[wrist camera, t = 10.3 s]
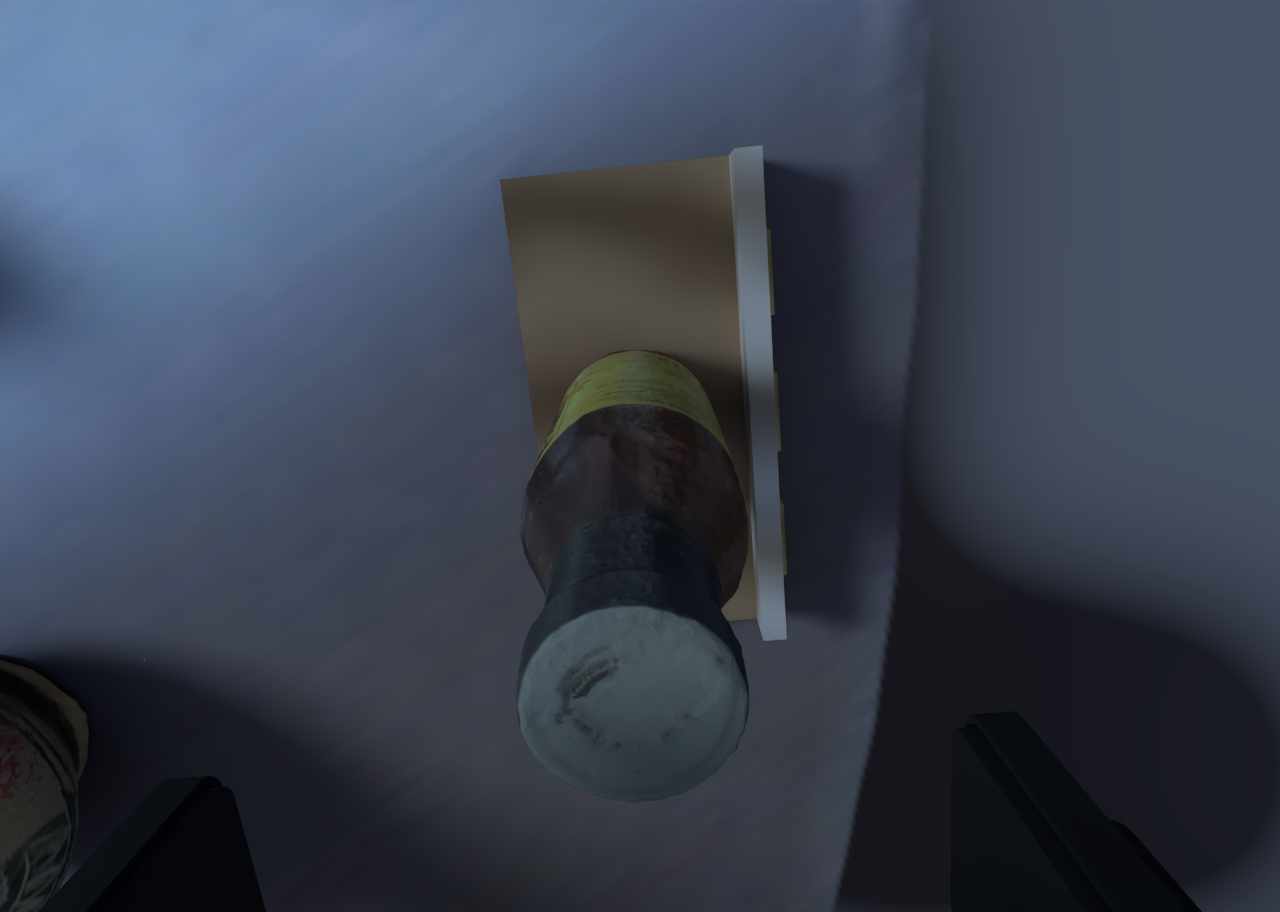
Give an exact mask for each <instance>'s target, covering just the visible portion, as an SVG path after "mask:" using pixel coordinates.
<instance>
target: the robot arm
mask: <svg viewBox="0 0 1280 912" xmlns="http://www.w3.org/2000/svg"><path fill="white" fill-rule="evenodd" d="M951 789H952V790H951V908H952V912H1201V911H1200V909H1199V908H1198V907H1197V906H1196V905H1195V903H1194V902H1193V901H1192V900H1191V899H1190V898H1189V897H1188V895H1187V894H1186V893H1185V892H1184V891H1183V890H1182V888H1181V887H1180V886H1179V885H1178V884H1177V883H1176V882H1175V880H1174V879H1173V878H1172V877H1171V876H1170V875H1169V873H1168V872H1167V871H1166V870H1165V869H1164V868H1163V867H1162V865H1161V864H1160V863H1159V862H1158V861H1157V860H1156V858H1154V856H1153V855H1152V854H1151V853H1150V852H1149V850H1148V849H1147V848H1146V847H1145V846H1144V845H1143V843H1142V842H1141V841H1140V840H1139V839H1138V838H1137V837H1136V835H1134V834H1133V833H1132V832H1131V831H1130V830H1129V829H1128V828H1127V827H1126V826H1125V825H1123V824H1121V823H1119V822H1117V821H1114V820H1109V819H1108V818H1107V817H1106V816H1105V815H1104V813H1103V812H1102V811H1101V810H1100V809H1099V807H1098V806H1097V805H1096V804H1095V803H1094V801H1093V800H1092V799H1091V798H1090V797H1089V795H1088V794H1087V793H1086V792H1085V791H1084V790H1083V788H1082V787H1081V786H1080V785H1079V784H1078V782H1077V781H1076V780H1075V779H1074V778H1073V777H1072V775H1071V774H1070V773H1069V772H1068V770H1067V769H1066V768H1065V767H1064V766H1063V765H1062V764H1061V762H1060V761H1059V760H1058V759H1057V757H1056V756H1055V755H1054V754H1053V753H1052V752H1051V750H1050V749H1049V748H1048V747H1047V746H1046V744H1045V743H1044V742H1043V741H1042V740H1041V738H1040V737H1039V736H1038V735H1037V734H1036V733H1035V731H1034V730H1033V729H1032V728H1031V727H1030V726H1029V724H1028V723H1027V722H1026V721H1025V720H1024V719H1023V717H1022V716H1021V715H1019V714H1018V713H1017V712H1013V711H1012V712H1000V713H986V714H974V715H969V716H968V717H967V718H966V721H965V727H964V728H956V729H954V731H953V734H952V788H951ZM39 912H266V910H265V907H264V903H263V899H262V896H261V892H260V888H259V885H258V881H257V877H256V874H255V870H254V866H253V863H252V859H251V856H250V852H249V848H248V845H247V841H246V837H245V834H244V830H243V826H242V823H241V819H240V815H239V812H238V808H237V805H236V801H235V797H234V795H233V792H232V791H231V790H230V789H229V788H228V787H223V786H222V784H221V782H220V781H219V780H218V779H217V778H216V777H212V776H204V777H192V778H179V779H170V780H166V781H163V782H162V783H161V784H160V785H158V786H157V787H156V788H155V789H154V790H153V791H152V792H151V793H150V794H149V796H148V797H147V798H146V799H145V800H144V801H143V802H142V803H141V804H140V805H139V806H138V807H137V808H136V809H135V810H134V811H133V812H132V814H131V815H130V816H129V817H128V818H127V819H126V820H125V821H124V822H123V823H122V824H121V825H120V826H119V827H118V828H117V829H116V830H115V831H114V833H113V834H112V835H111V836H110V837H109V838H108V839H107V840H106V841H105V842H104V843H103V844H102V845H101V846H100V847H99V848H98V849H97V850H96V852H95V853H94V854H93V855H92V856H91V857H90V858H89V859H88V860H87V861H86V862H85V863H84V864H83V865H82V866H81V867H80V868H79V869H78V871H77V872H76V873H75V874H74V875H73V876H72V877H71V878H70V879H69V880H68V881H67V882H66V883H65V884H64V885H63V886H62V887H61V889H60V890H59V891H58V892H57V893H56V894H55V895H54V896H53V897H52V898H51V899H50V900H49V901H48V902H47V903H46V904H45V905H44V906H43V908H42V909H41V910H40V911H39Z"/></svg>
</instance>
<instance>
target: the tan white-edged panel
mask: <svg viewBox="0 0 1280 912" xmlns="http://www.w3.org/2000/svg"><path fill="white" fill-rule="evenodd" d="M500 183H501V190H502V197H503V204H504V212H505V219H506V226H507V233H508V240H509V247H510V254H511V261H512V268H513V276H514V283H515V290H516V297H517V304H518V311H519V318H520V325H521V333H522V340H523V347H524V354H525V361H526V368H527V375H528V382H529V390H530V397H531V404H532V411H533V418H534V425H535V432H536V439H537V447H538V454H539V455H540V453H541V450H542V448H543V446H544V443H545V441H546V438H547V436H548V434H549V432H550V430H551V427H552V425H553V422H554V420H555V417H556V416H557V413H558V411H559V409H560V406H561V404H562V402H563V399H564V396H565V394H566V392H567V390H568V388H569V387H570V385H571V384H572V383H573V381H574V380H575V379H576V378H577V377H578V376H579V375H580V373H582V372H583V371H584V370H585V369H586V368H587V367H588V366H590V365H591V364H593V363H594V362H595V361H596V360H597V359H599V358H602V357H603V356H605V355H607V354H608V353H611V352H616V351H621V350H634V349H637V350H649V351H659V352H661V353H663V354H666V355H668V356H670V357H671V358H672V359H674V360H675V361H677V362H679V363H680V364H682V365H683V366H684V367H685V368H686V369H687V370H689V371H690V372H691V373H692V374H693V376H694V377H695V378H696V379H697V380H698V381H699V383H700V384H701V386H702V387H703V389H704V391H705V393H706V395H707V397H708V399H709V401H710V404H711V406H712V408H713V411H714V413H715V416H716V418H717V421H718V424H719V426H720V429H721V432H722V434H723V437H724V439H725V442H726V444H727V447H728V449H729V452H730V455H731V457H732V460H733V463H734V468H735V470H736V473H737V476H738V479H739V484H740V489H741V493H742V495H743V496H744V500H745V508H746V511H747V515H748V521H749V542H748V554H747V558H746V562H745V565H744V569H743V572H742V577H741V580H740V583H739V588H738V590H737V591H736V592H735V594H734V595H733V597H732V598H731V599H730V600H729V601H728V602H727V603H726V604H725V605H724V607H723V608H722V609H721V610H722V613H723V615H724V616H725V618H726V619H727V621H734V620H746V619H757V620H758V623H759V627H760V630H761V634H762V637H763V641H768V640H781V639H787V637H786V616H785V596H784V576H783V575H787V562H786V541H785V521H784V504H783V502H782V500H781V498H780V494H779V474H778V454H777V451H781V437H780V416H779V395H778V374H777V373H776V372H775V371H774V370H773V352H772V332H771V315H775V311H774V290H773V269H772V248H771V229H766V210H765V189H764V169H763V149H762V145H761V146H752V147H743V148H735V149H734V150H733V151H732V152H731V153H730V155H728V156H718V157H709V158H700V159H690V160H681V161H671V162H662V163H653V164H643V165H634V166H625V167H615V168H606V169H596V170H587V171H578V172H568V173H559V174H549V175H540V176H531V177H521V178H512V179H503V180H500Z"/></svg>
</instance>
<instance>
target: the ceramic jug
mask: <svg viewBox="0 0 1280 912" xmlns="http://www.w3.org/2000/svg"><path fill="white" fill-rule="evenodd" d="M143 660H144V661H145V658H144V659H143ZM145 662H146V661H145ZM88 741H89V730H88V722H87V714H86V713H85V712H84V710H83V709H82V707H81V706H80V705H79V703H78V702H77V701H75V700H74V699H72V698H71V697H70V696H68V695H67V694H65V693H64V692H62V691H61V690H60V689H59V688H57V687H56V686H55V685H54V684H53V683H51V682H50V681H49V680H48V679H47V678H45V677H44V676H42V675H40V674H38V673H37V672H35V671H33V670H32V669H30V668H27V667H23V666H20V665H17V664H14V663H10V662H7V661H4V660H1V659H0V912H39V911H40V910H41V909H42V908H43V906H44V905H45V904H46V903H47V902H48V901H49V900H50V899H51V898H52V897H53V896H54V895H55V894H56V893H57V892H58V891H59V889H60V886H61V884H62V882H63V880H64V878H65V876H66V873H67V870H68V867H69V864H70V861H71V858H72V855H73V849H74V844H75V838H76V833H77V827H78V821H79V805H78V781H79V778H80V776H81V774H82V772H83V770H84V767H85V764H86V762H87V756H88Z"/></svg>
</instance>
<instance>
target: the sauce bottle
mask: <svg viewBox="0 0 1280 912" xmlns="http://www.w3.org/2000/svg"><path fill="white" fill-rule="evenodd" d="M521 538H522V543H523V548H524V553H525V556H526V558H527V560H528V563H529V565H530V567H531V569H532V571H533V572H534V574H535V576H536V578H537V580H538V581H539V583H540V585H541V587H542V589H543V591H544V593H545V595H546V603H545V606H544V609H543V610H542V612H541V614H540V615H539V617H538V619H537V620H536V621H535V622H534V623H533V624H532V626H531V628H530V630H529V632H528V635H527V637H526V639H525V642H524V645H523V649H522V652H521V660H520V667H519V673H518V680H517V712H518V719H519V726H520V730H521V732H522V734H523V736H524V738H525V740H526V743H527V746H528V747H529V749H530V750H531V751H532V753H533V754H534V755H535V757H536V758H537V759H538V760H539V762H540V763H541V764H542V765H543V766H544V767H546V768H547V769H548V770H550V771H551V772H552V773H553V774H555V775H556V776H557V777H559V778H560V779H562V780H563V781H565V782H566V783H568V784H569V785H571V786H572V787H574V788H576V789H579V790H582V791H585V792H588V793H591V794H594V795H597V796H600V797H604V798H608V799H614V800H620V801H626V802H642V801H649V800H661V799H664V798H667V797H670V796H674V795H678V794H680V793H683V792H685V791H687V790H690V789H692V788H694V787H695V786H697V785H699V784H700V783H702V782H703V781H704V780H706V779H707V778H708V777H709V776H711V775H712V774H714V773H715V772H717V771H718V769H719V768H720V767H721V766H722V765H723V763H724V762H725V760H726V759H727V758H728V757H729V756H730V755H731V754H732V753H733V752H734V751H735V750H736V749H737V746H738V742H739V740H740V738H741V736H742V734H743V733H744V729H745V725H746V721H747V717H748V711H749V687H748V681H747V675H746V669H745V664H744V660H743V656H742V648H741V645H740V643H739V642H738V640H737V638H736V637H735V635H734V633H733V631H732V629H731V626H730V624H729V623H728V621H727V619H726V618H725V616H724V615H723V613H722V610H721V609H722V608H723V607H724V605H725V604H726V603H727V602H728V601H729V600H730V599H731V598H732V597H733V595H734V594H735V592H736V591H737V590H738V588H739V583H740V580H741V577H742V572H743V569H744V565H745V562H746V558H747V554H748V542H749V521H748V515H747V511H746V508H745V500H744V496H743V495H742V493H741V489H740V484H739V479H738V476H737V473H736V470H735V468H734V463H733V460H732V457H731V455H730V452H729V449H728V447H727V444H726V442H725V439H724V437H723V434H722V432H721V429H720V426H719V424H718V421H717V418H716V416H715V413H714V411H713V408H712V406H711V404H710V401H709V399H708V397H707V395H706V393H705V391H704V389H703V387H702V386H701V384H700V383H699V381H698V380H697V379H696V378H695V377H694V376H693V374H692V373H691V372H690V371H689V370H687V369H686V368H685V367H684V366H683V365H682V364H680V363H679V362H677V361H675V360H674V359H672V358H671V357H670V356H668V355H666V354H663V353H661V352H659V351H649V350H637V349H634V350H621V351H616V352H611V353H608V354H607V355H605V356H603V357H602V358H599V359H597V360H596V361H595V362H594V363H593V364H591V365H590V366H588V367H587V368H586V369H585V370H584V371H583V372H582V373H580V375H579V376H578V377H577V378H576V379H575V380H574V381H573V383H572V384H571V385H570V387H569V388H568V390H567V392H566V394H565V396H564V399H563V402H562V404H561V406H560V409H559V411H558V413H557V416H556V417H555V420H554V422H553V425H552V427H551V430H550V432H549V434H548V436H547V438H546V441H545V443H544V446H543V448H542V450H541V453H540V455H539V457H538V460H537V462H536V465H535V467H534V469H533V472H532V474H531V477H530V480H529V482H528V485H527V488H526V491H525V495H524V498H523V503H522V509H521Z"/></svg>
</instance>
